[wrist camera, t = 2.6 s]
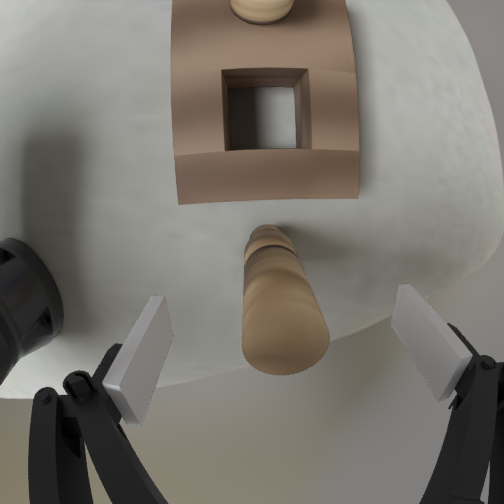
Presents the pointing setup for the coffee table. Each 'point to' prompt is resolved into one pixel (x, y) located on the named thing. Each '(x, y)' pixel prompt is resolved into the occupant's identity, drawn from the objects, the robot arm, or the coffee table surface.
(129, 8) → the coffee table surface
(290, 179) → the wooden peg block
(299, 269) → the leg
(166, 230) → the coffee table surface
